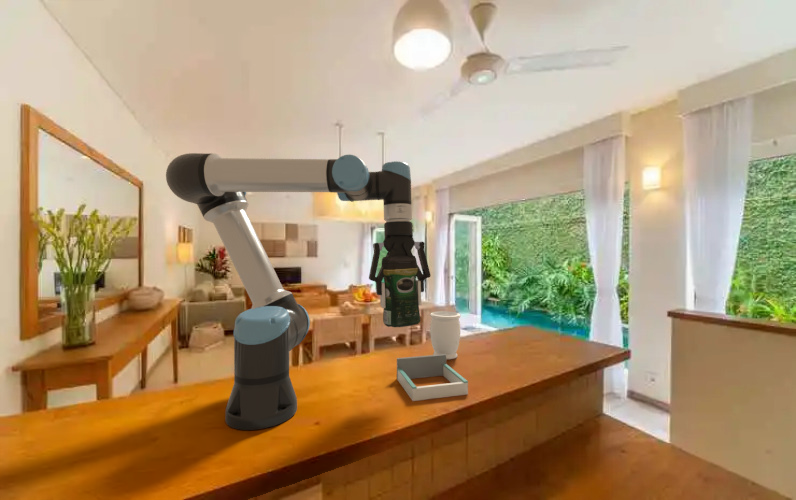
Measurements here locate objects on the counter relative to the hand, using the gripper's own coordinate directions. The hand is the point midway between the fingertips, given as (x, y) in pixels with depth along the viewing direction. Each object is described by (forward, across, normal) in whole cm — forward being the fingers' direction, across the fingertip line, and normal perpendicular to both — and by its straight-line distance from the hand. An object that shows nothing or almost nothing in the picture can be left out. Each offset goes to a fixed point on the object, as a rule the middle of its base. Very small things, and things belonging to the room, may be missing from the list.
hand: (400, 305), depth 90 cm
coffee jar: (+5, 0, 0) cm, 5 cm away
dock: (+23, +8, +1) cm, 24 cm away
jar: (+23, +22, +24) cm, 40 cm away
